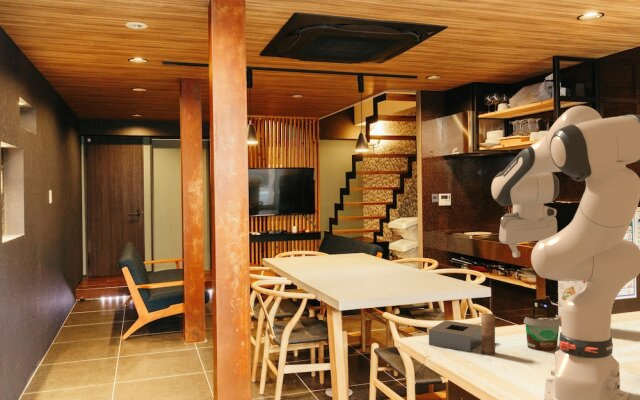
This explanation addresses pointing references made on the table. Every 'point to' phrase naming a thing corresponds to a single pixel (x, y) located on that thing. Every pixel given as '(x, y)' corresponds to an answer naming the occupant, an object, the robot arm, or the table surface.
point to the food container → (542, 333)
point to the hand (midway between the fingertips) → (528, 255)
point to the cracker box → (567, 292)
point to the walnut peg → (488, 333)
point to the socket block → (456, 335)
